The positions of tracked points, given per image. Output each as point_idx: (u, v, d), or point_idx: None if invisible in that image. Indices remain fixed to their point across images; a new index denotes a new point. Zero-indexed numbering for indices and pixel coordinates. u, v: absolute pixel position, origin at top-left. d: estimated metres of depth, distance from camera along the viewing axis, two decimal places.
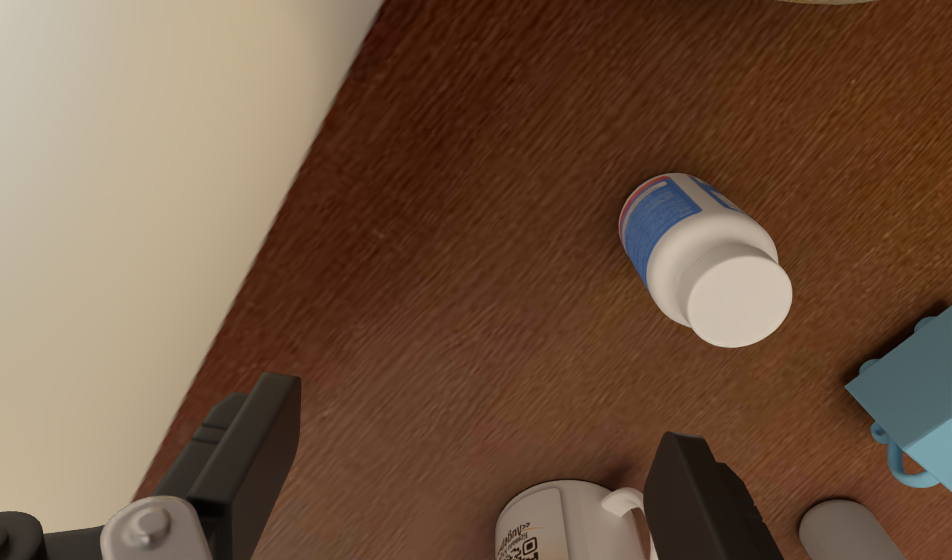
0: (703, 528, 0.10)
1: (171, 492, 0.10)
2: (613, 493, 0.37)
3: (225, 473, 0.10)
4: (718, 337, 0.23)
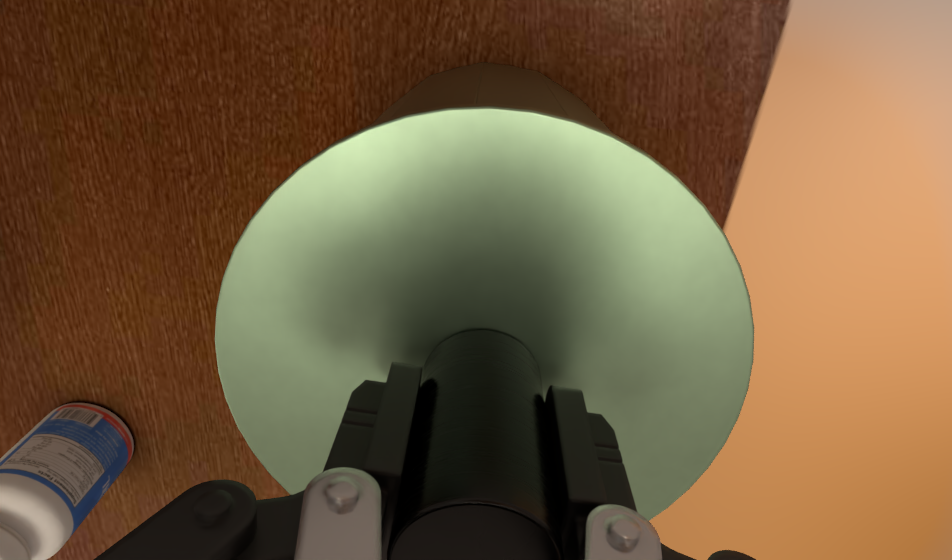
0: (560, 465, 0.11)
1: (341, 466, 0.11)
2: None
3: (388, 450, 0.11)
4: None
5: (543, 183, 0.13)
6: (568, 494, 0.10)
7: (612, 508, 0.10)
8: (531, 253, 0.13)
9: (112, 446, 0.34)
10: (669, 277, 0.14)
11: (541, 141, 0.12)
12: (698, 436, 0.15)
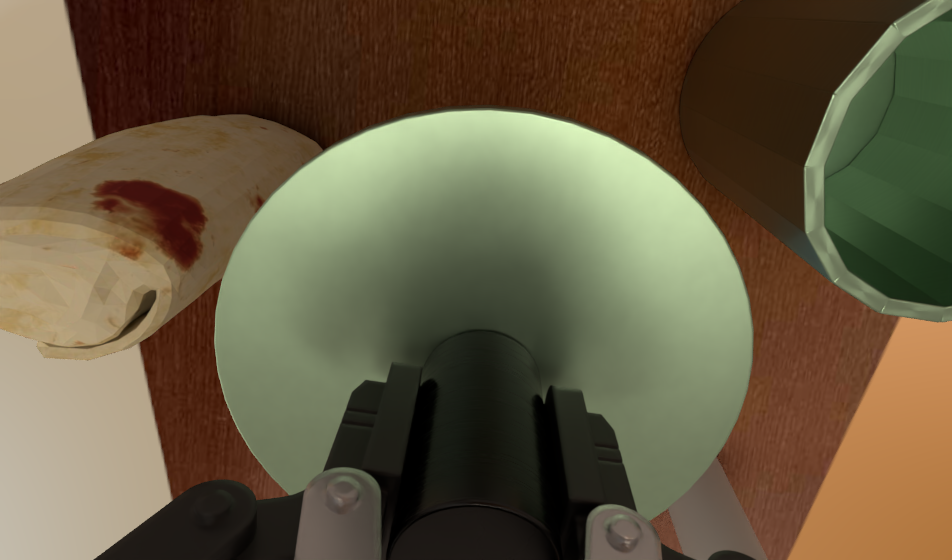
0: (560, 465, 0.11)
1: (340, 467, 0.11)
2: None
3: (388, 450, 0.11)
4: None
5: (542, 184, 0.13)
6: (568, 494, 0.10)
7: (612, 508, 0.10)
8: (530, 254, 0.13)
9: None
10: (668, 278, 0.14)
11: (540, 142, 0.12)
12: (697, 437, 0.15)
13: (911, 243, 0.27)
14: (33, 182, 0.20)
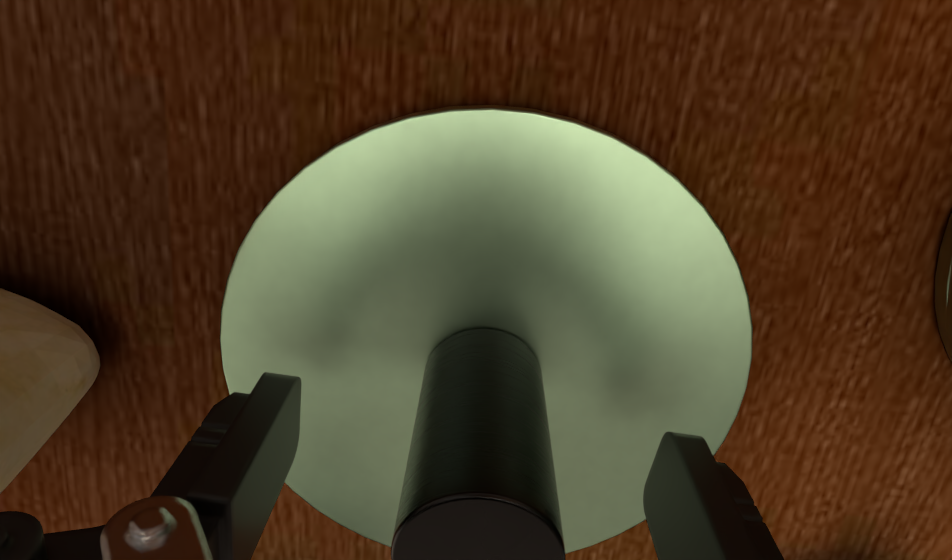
0: (703, 528, 0.10)
1: (172, 491, 0.10)
2: None
3: (225, 473, 0.10)
4: None
5: (544, 183, 0.13)
6: None
7: None
8: (532, 252, 0.14)
9: None
10: (669, 276, 0.14)
11: (542, 142, 0.13)
12: (697, 434, 0.16)
13: None
14: None
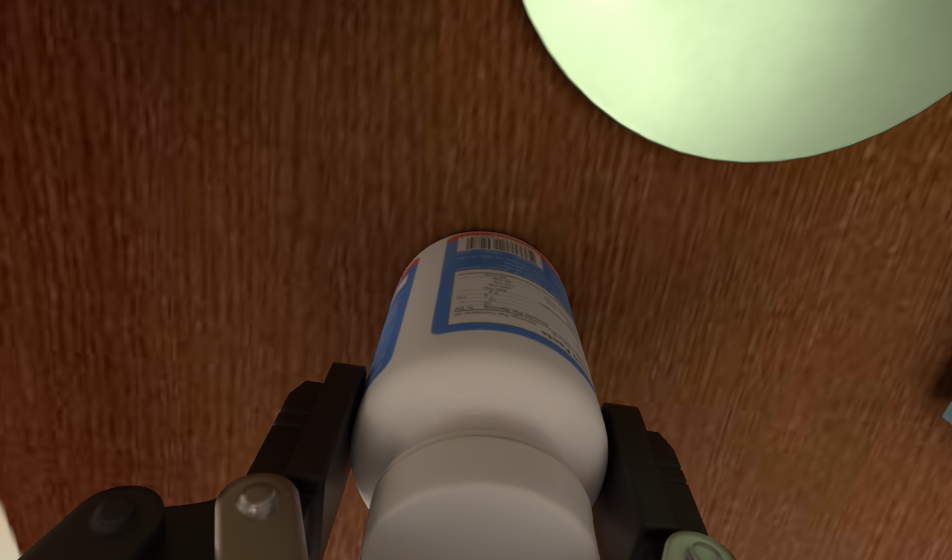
0: (626, 488, 0.11)
1: (265, 471, 0.10)
2: None
3: (314, 454, 0.10)
4: None
5: None
6: (640, 520, 0.10)
7: (688, 535, 0.10)
8: None
9: None
10: None
11: None
12: None
13: None
14: None
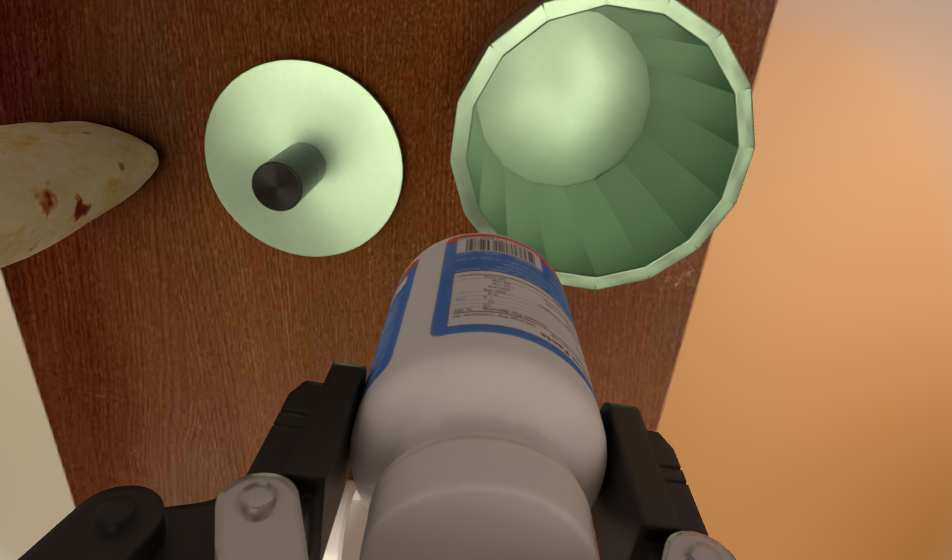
0: (626, 488, 0.11)
1: (265, 471, 0.10)
2: None
3: (314, 454, 0.10)
4: None
5: (314, 85, 0.38)
6: (640, 520, 0.10)
7: (688, 535, 0.10)
8: (314, 112, 0.38)
9: None
10: (363, 120, 0.39)
11: (310, 70, 0.37)
12: (389, 188, 0.40)
13: (618, 226, 0.32)
14: None
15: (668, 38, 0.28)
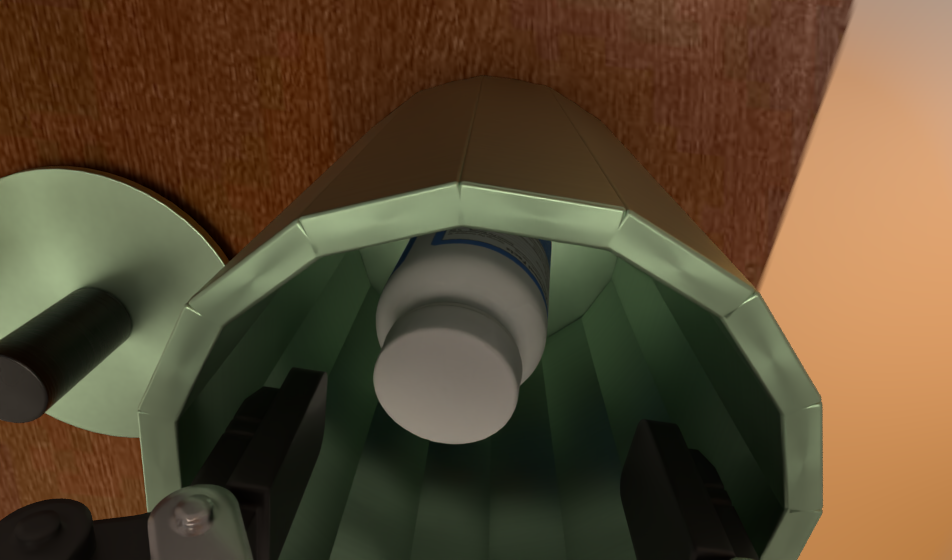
0: (672, 510, 0.11)
1: (211, 481, 0.10)
2: None
3: (261, 463, 0.10)
4: (452, 435, 0.17)
5: (96, 207, 0.24)
6: (692, 545, 0.10)
7: None
8: (102, 244, 0.25)
9: (548, 243, 0.22)
10: (180, 258, 0.25)
11: (88, 186, 0.24)
12: None
13: (555, 501, 0.18)
14: None
15: None
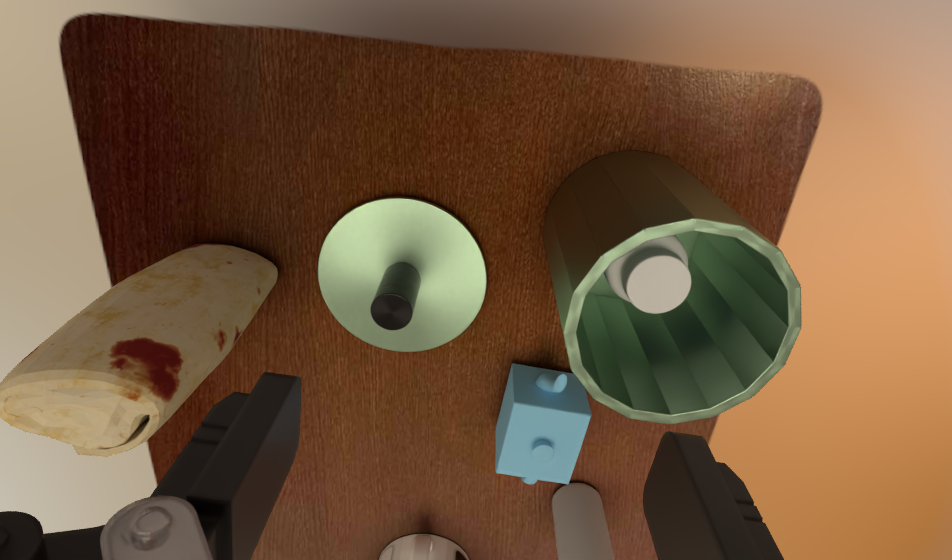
0: (703, 528, 0.10)
1: (172, 492, 0.10)
2: None
3: (225, 473, 0.10)
4: (659, 308, 0.37)
5: (416, 218, 0.45)
6: None
7: None
8: (414, 238, 0.45)
9: None
10: (456, 246, 0.46)
11: (414, 207, 0.44)
12: (473, 299, 0.47)
13: (680, 357, 0.39)
14: (72, 346, 0.31)
15: None
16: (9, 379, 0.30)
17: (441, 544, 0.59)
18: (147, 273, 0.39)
